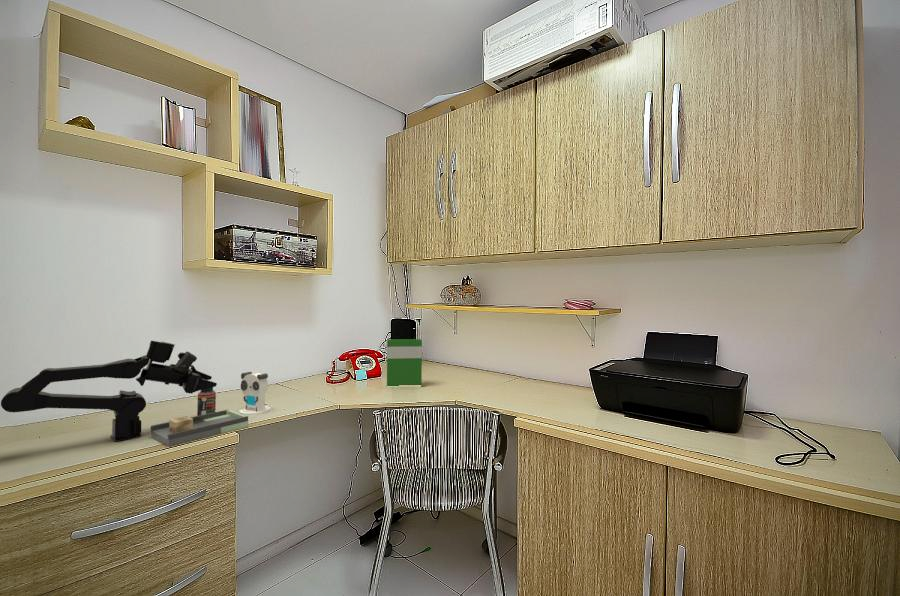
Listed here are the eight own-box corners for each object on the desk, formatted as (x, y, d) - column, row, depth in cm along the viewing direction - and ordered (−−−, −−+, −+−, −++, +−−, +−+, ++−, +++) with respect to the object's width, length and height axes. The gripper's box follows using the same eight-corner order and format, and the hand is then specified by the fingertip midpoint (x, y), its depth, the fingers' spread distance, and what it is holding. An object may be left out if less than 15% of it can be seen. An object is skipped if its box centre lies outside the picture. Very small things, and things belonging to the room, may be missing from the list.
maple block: (175, 433, 125) (175, 422, 125) (169, 430, 128) (169, 419, 128) (193, 429, 129) (193, 418, 129) (186, 426, 132) (186, 416, 132)
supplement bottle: (206, 418, 148) (207, 388, 148) (193, 417, 149) (193, 387, 149) (219, 414, 154) (219, 385, 154) (206, 413, 155) (206, 384, 155)
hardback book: (420, 384, 211) (420, 339, 211) (421, 387, 204) (421, 340, 204) (387, 384, 209) (387, 339, 209) (386, 388, 201) (387, 340, 201)
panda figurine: (231, 411, 157) (232, 374, 157) (256, 405, 167) (257, 369, 167) (252, 415, 152) (252, 376, 152) (276, 408, 162) (277, 372, 162)
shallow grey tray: (168, 446, 120) (168, 435, 120) (150, 436, 128) (150, 425, 128) (248, 426, 139) (248, 416, 139) (227, 418, 148) (227, 409, 148)
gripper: (176, 357, 128) (227, 366, 139) (169, 345, 142) (216, 354, 153) (163, 390, 127) (216, 397, 137) (157, 375, 141) (206, 382, 151)
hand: (213, 381), depth 145 cm, fingers open, 9 cm apart
